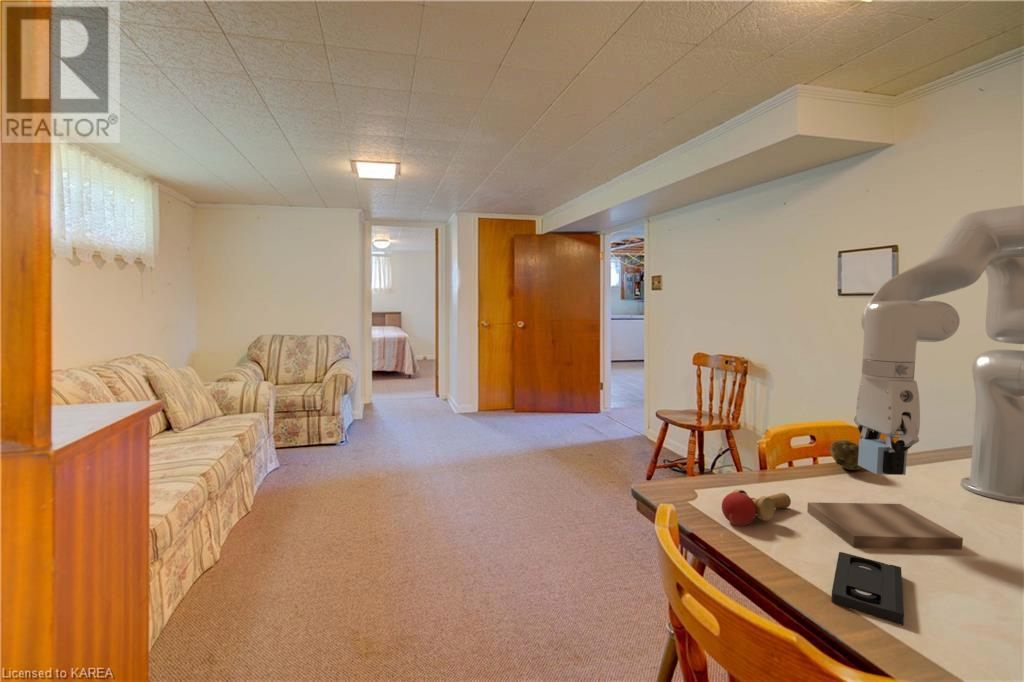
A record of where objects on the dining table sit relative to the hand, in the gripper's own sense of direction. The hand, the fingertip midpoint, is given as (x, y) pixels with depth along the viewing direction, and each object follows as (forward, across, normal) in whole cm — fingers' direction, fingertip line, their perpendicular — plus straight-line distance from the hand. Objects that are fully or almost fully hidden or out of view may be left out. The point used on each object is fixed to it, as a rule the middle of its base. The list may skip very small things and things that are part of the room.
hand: (881, 467), depth 89 cm
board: (+12, 0, 0) cm, 12 cm away
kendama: (+12, +5, +20) cm, 24 cm away
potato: (+12, +33, -15) cm, 38 cm away
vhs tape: (+13, -19, +15) cm, 27 cm away
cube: (+1, 0, 0) cm, 1 cm away
